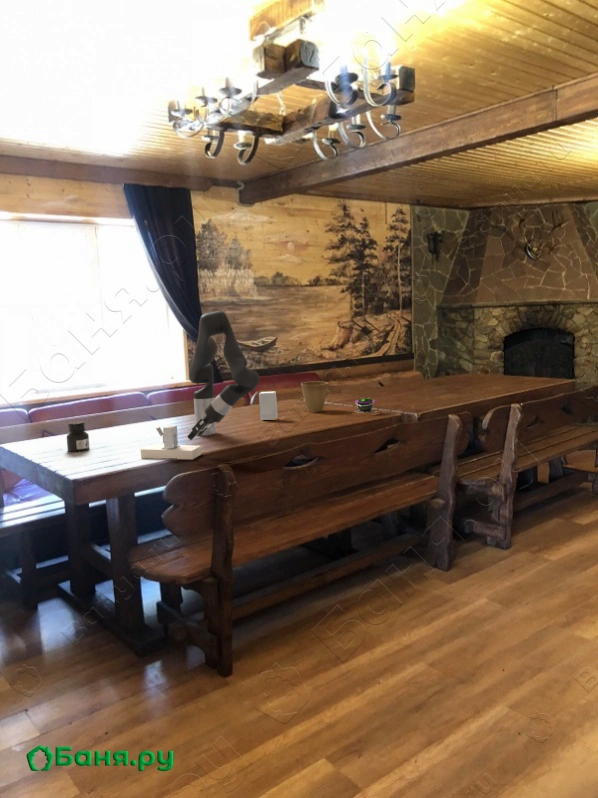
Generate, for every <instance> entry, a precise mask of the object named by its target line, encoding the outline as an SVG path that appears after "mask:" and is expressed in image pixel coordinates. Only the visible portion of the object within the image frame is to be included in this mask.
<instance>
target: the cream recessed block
mask: <svg viewBox="0 0 598 798" xmlns="http://www.w3.org/2000/svg"><path fill="white" fill-rule="evenodd" d="M201 455H202V446H201V445H187V444H186V445H184V444H183V445H181V444H178V448H176V449H174V450H169V449H164V444H150V445H149V444H148V445H147V446H145V447H142V448H141V449H140V458H141V459H160V458H177V459H176V460H190V461H191V460H194V459H196V458H198V457H199V456H201Z"/></svg>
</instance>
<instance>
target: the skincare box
mask: <svg viewBox="0 0 598 798" xmlns="http://www.w3.org/2000/svg"><path fill="white" fill-rule="evenodd" d="M258 401H259V402H258V403H259V413H260V414H259V415H260V421H261V420H271V419H277V418H279V415H278V414H279V413H278V402H277V401H278V400H277V392H276V391H275V390H274V391H260V392H259V393H258ZM277 420H278V419H277Z"/></svg>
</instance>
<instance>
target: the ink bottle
mask: <svg viewBox="0 0 598 798" xmlns="http://www.w3.org/2000/svg"><path fill="white" fill-rule="evenodd" d="M67 426H68V432H69V433H68V434H67V435H66V444H67V445H66V447H67V451H68V452H71V453H72V452H73V453H79V451H80V452H85V451H87V450H90V436H89V433H88V432H87V431H86V421H84V420H77V421H75V420H74V421H70V422H68V423H67Z"/></svg>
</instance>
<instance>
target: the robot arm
mask: <svg viewBox="0 0 598 798" xmlns="http://www.w3.org/2000/svg"><path fill="white" fill-rule="evenodd" d="M221 334H224V335H225V341H224V344H223V350H222V351H223V357H224V359H225V361H226V363H227V365H228V366H229V369H230V374H231V377H232V380H233V382H234V384H233V383H231V384H228V385H226V386H225V387H224V388H223V390H222V391H221V392H220V393H219V394H217V396H216V397H215V396H214V395H215V393H214V390H215V388H214V366H213V365H212V362H213V361H214V359H215V358H216V355H217V351H218V344H217V342H216V341H215V340H214V338H212V336H216V335H221ZM247 365H248V361H247V359H246V357H245V354H244V353H243V350H241V348H240V346H239V343H238V341H237V339H236V336H235V333H234V330H233V328H232V325H231V322H230V319H229V318H228V316H227V314H226V313H225V312H224V311H223V310H216V311H211V312H207V313H204V314H202V315H201V316H200V318H199V324H198V336H197V340H196V344H195V349H194V355H193V358H192V361H191V363H190V366H189V370H188V377H189V381H190V382H191V383H192V384H198V385H199V384H205V385H204V386H203V387H202V388H200V389H198V390H195V391H194V392H193V405H194V407H193V408H194V422H195V423H194V424H195V425H194V426H193V427H192V428H191V432H189V434H187V436H186V437H187V439H189V440H190V441H192V440H193V439H195V437H196V436H199V437H200V436H204V437H205V436H213V435H215V434H216V423H220V422H221V421H222V420H223V419H224V418H225V417H226V416H227V414H228V413H229V412H230V411H231V410H232V408H233V407H234V406H235V405H236V404H237V402H238V401H240V399H241V398H242V397H245V396H246V395H248V394H249V393H250V392H252V391H253V390H254V389H256V387H257V386H258V384H259V383H260V374H259V373H258V372H257V371H255V370H254V369H253V370H252V369H250V368H248V367H247ZM212 434H213V435H212Z"/></svg>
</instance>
